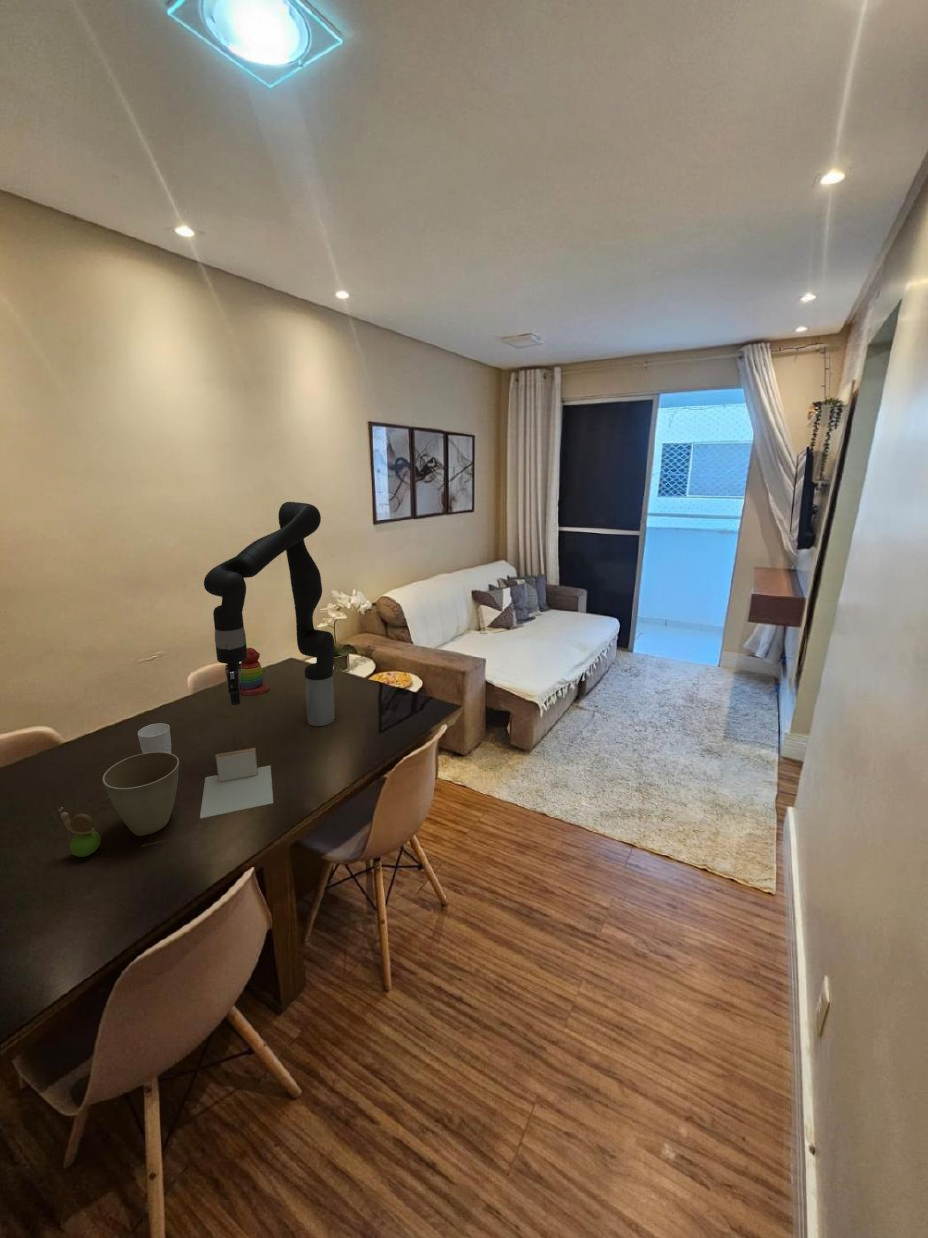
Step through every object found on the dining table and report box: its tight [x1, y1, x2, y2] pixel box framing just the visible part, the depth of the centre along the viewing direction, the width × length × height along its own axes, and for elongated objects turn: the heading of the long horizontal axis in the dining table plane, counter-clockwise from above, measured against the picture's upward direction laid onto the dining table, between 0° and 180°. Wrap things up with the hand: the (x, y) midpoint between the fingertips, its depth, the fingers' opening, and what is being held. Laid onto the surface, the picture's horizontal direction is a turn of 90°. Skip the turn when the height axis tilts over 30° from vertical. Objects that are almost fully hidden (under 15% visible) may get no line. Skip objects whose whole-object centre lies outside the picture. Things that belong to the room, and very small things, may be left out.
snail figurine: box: [58, 806, 102, 858], centre depth 106 cm, size 5×6×12 cm
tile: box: [215, 747, 258, 782], centre depth 134 cm, size 2×10×8 cm, turn 113°
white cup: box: [137, 722, 172, 754], centre depth 141 cm, size 8×8×10 cm
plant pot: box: [102, 752, 180, 837], centre depth 114 cm, size 15×15×16 cm
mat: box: [199, 765, 274, 819], centre depth 130 cm, size 18×17×1 cm
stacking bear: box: [239, 647, 270, 696], centre depth 187 cm, size 11×10×18 cm
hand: (236, 697), depth 134 cm, fingers open, 8 cm apart
